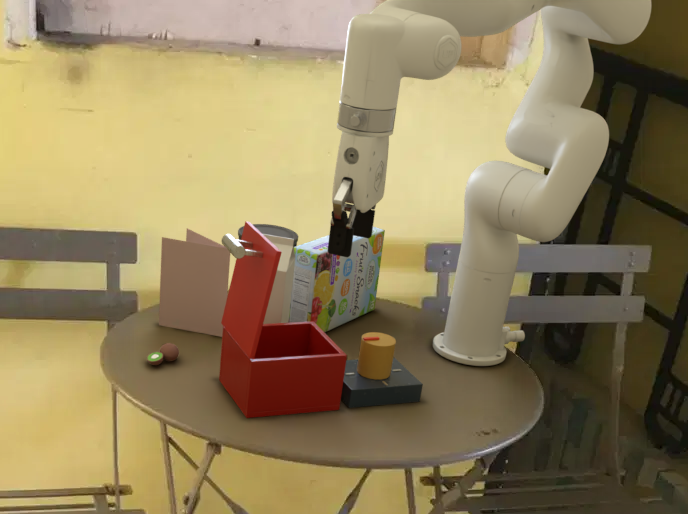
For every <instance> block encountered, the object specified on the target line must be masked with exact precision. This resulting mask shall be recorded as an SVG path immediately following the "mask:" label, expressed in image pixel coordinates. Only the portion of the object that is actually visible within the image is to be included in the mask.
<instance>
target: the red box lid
mask: <svg viewBox="0 0 688 514" xmlns="http://www.w3.org/2000/svg"><path fill="white" fill-rule="evenodd" d="M243 226H244V229H243V234H242V238H241V240H238V238H236V237H235V236H233V235H232V234H231V233H226V234H224V235H223V236H222V237H221V245H223V246H224V247H225V248H226V249H227V250H228V251H229V252H230V255H232V256H233V257H234V258H235V263H234V267H233V272H232V276H231V280H230V284H229V287H228V293H227V301H226V305H225V309H224V313H223V317H222V322H221V324H222V325H223V326H224V327H225V329H226V330H227V331H228V332H229V334H230V335H231V336H232V337H233V339H234V340H235V341H236V342H237V343H238V345H239V346H240V347H241V348H242V350H243V351H244V352H245V353H246V355H247V356H248V357H249V358H250V359H254V357H255V353H256V349H257V346H258V342H259V338H260V334H261V330H262V326H263V322H264V318H265V315H266V311H267V307H268V303H269V299H270V295H271V291H272V288H273V284H274V280H275V276H276V272H277V268H278V264H279V261H280V257H281V253H282V252H281V251H280V250H279V249H278V248H277V247H276V246H275V245H274V244H273V243H272V242H270V241H269V240H268V239H267V238H266V237H265V236H264V235H263V234H262V233H261V232H260V231H259V230H258V229H257V228H256V227H254V226H253V225H252V222H250V221H244V225H243Z"/></svg>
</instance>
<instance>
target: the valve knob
mask: <svg viewBox="0 0 688 514" xmlns="http://www.w3.org/2000/svg"><path fill="white" fill-rule="evenodd" d="M396 340H397V339H396V338H395V337H394V336H391V335H389V334H387V333H383V332H376V331H372V332H365V333H364V334H362V335H361V338H360V346H359V352H358V358H357V359H358V365H357V372H358V373H359V374H360V375H361V376H363V377H366V378H369V379H376V380H381V379H386V378H388V377H389V376H390V374H391V368H392V363H393V357H394V358H395V350H396V344H397V341H396Z"/></svg>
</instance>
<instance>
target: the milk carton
mask: <svg viewBox="0 0 688 514" xmlns="http://www.w3.org/2000/svg"><path fill="white" fill-rule="evenodd" d="M263 235H264V236H265V237H266V238H267V239H268V240H269V241H270V242H272V243H273V244H274V245H275V246H276V247H277V248H278V249H279V250H280V251H281V252H282V253H281V257H280V261H279V264H278V268H277V272H276V276H275V280H274V284H273V288H272V291H271V295H270V299H269V303H268V307H267V311H266V315H265V318H264V322H263V324H272V323H288V321H289V312H290V303H291V294H292V285H293V275H294V266H295V253H294V248H293V243H294V239H291V238H285V237H279V236H273V235H267V234H263Z"/></svg>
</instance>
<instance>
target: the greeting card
mask: <svg viewBox="0 0 688 514" xmlns="http://www.w3.org/2000/svg"><path fill="white" fill-rule="evenodd" d="M160 253H161V254H160V279H159V306H158V307H159V308H158V325H159V326H161V327H168V328H172V329H178V330H182V331H188V332H194V333H200V334H204V335H208V336H209V335H210V336H216V337H220V338H222V333H223V325H222V324H221V322H222V317H223V313H224V309H225V305H226V301H227V296H228V292H229V277H230V264H231V253H230V252H229V251H228V250H227V249H226V248H225V247H224V245H223V244H222V243H219V242H217V241H214V240H212V239H211V238H209V237H206V236H204V235H202V234H200V233H199V232H196V231H194V230H192V229H189V228H188V227H187V228H186V235H185V240H182V239H181V240H180V239H176V238H169V237H164V236H162V237H161V252H160Z"/></svg>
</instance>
